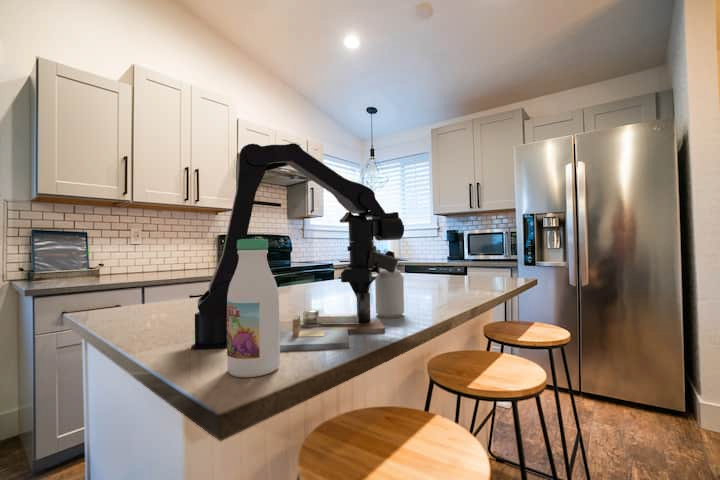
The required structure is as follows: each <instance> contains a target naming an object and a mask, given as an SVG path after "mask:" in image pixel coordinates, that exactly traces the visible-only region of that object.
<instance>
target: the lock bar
mask: <svg viewBox="0 0 720 480" xmlns="http://www.w3.org/2000/svg"><path fill="white" fill-rule="evenodd" d="M370 319H371V293H370V291H369V292H359V293H357V297H356V314H320V311H319V309H305V310H303V311H302V321H303V323H305V324H315V323H361V324H365V323H370Z"/></svg>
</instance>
